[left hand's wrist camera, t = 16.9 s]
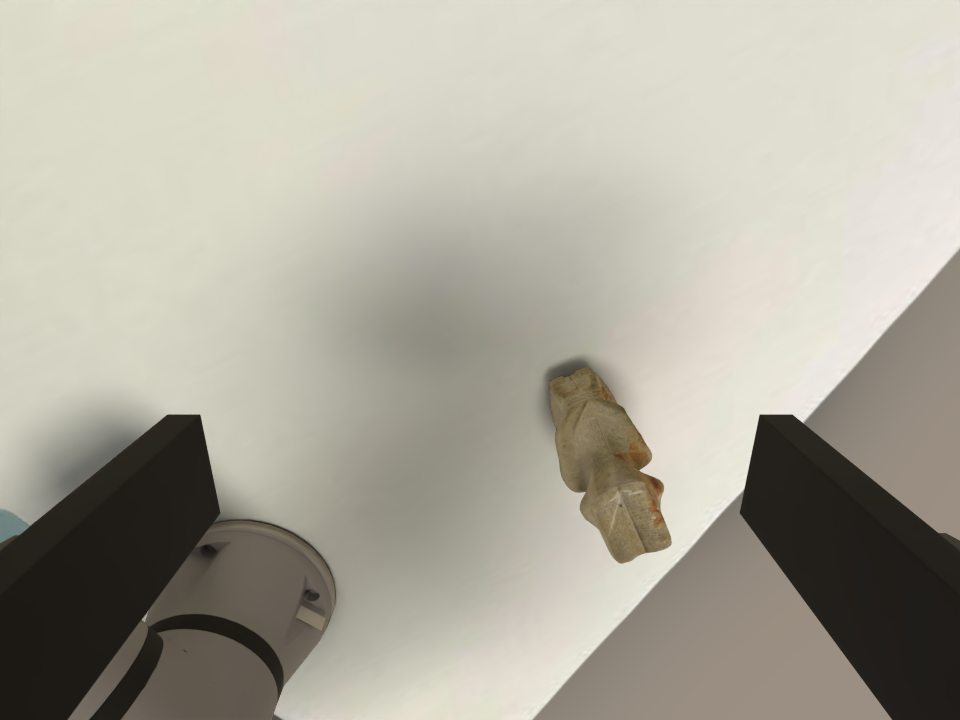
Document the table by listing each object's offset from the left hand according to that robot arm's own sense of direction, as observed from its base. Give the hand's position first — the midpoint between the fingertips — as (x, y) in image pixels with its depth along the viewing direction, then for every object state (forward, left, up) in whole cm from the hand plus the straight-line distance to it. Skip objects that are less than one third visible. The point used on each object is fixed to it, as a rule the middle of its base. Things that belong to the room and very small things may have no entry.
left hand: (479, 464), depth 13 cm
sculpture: (-6, -12, -28) cm, 31 cm away
